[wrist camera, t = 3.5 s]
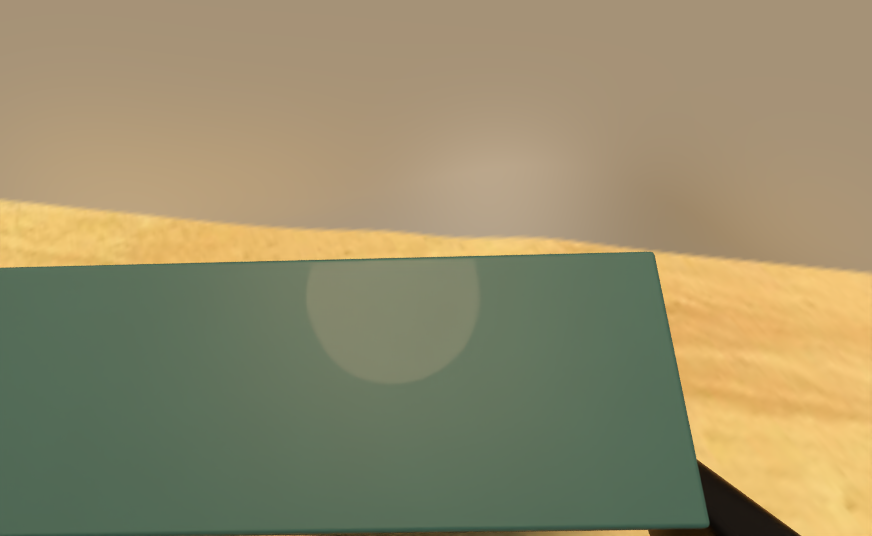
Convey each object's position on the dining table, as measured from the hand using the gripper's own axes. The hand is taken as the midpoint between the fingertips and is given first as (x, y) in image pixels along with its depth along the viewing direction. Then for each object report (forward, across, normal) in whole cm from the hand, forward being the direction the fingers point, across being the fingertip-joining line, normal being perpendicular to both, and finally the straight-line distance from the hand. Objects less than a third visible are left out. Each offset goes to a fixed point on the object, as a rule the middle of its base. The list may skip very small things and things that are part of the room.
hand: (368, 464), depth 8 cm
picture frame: (+6, 0, +6) cm, 8 cm away
